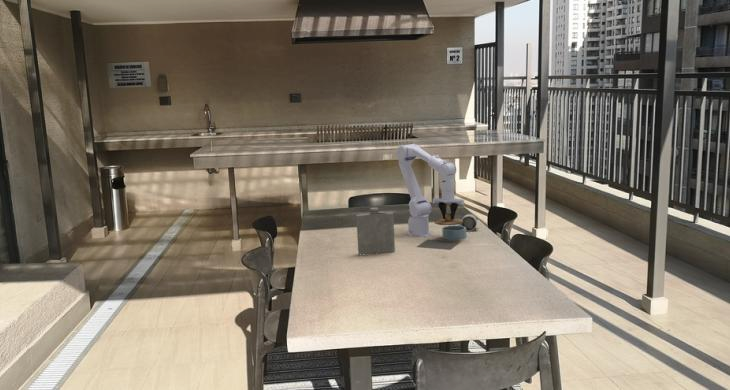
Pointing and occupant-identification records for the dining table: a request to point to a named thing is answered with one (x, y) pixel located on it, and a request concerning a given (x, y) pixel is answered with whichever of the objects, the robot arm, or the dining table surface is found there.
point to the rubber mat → (438, 244)
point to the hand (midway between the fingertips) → (448, 219)
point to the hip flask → (375, 232)
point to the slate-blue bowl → (454, 232)
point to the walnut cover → (448, 220)
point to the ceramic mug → (469, 222)
